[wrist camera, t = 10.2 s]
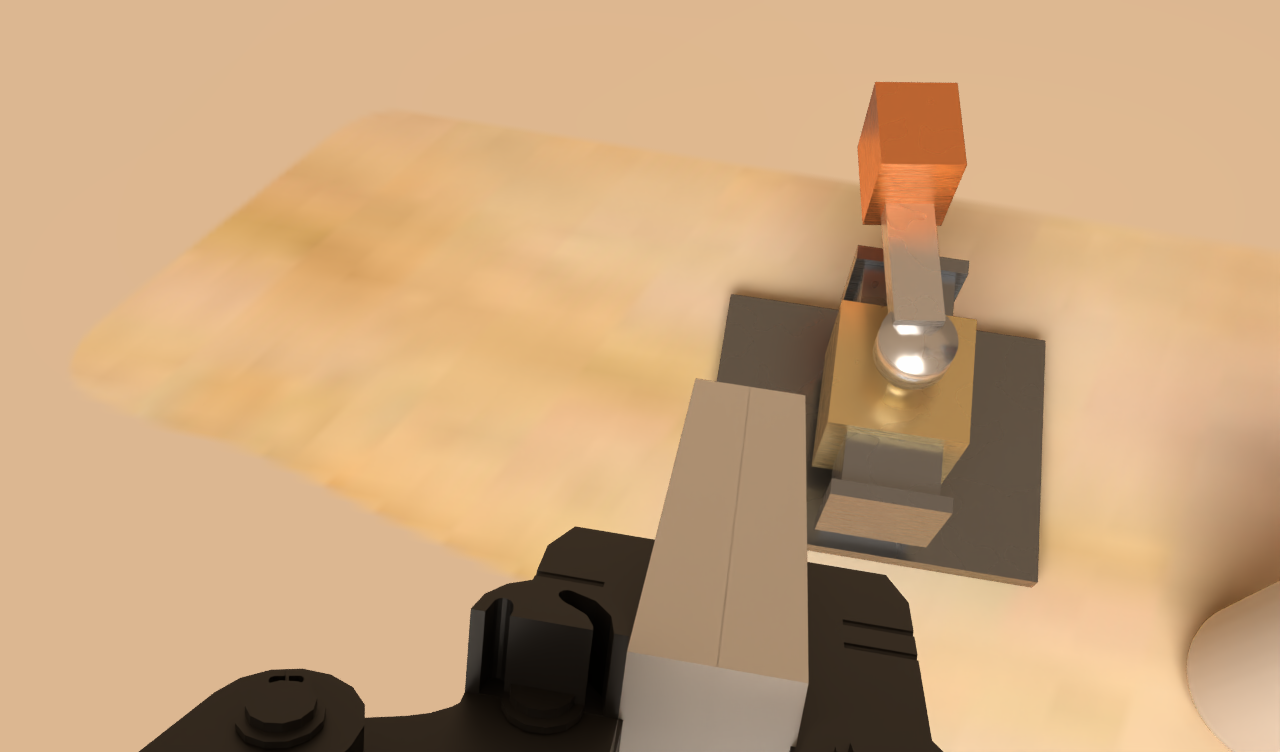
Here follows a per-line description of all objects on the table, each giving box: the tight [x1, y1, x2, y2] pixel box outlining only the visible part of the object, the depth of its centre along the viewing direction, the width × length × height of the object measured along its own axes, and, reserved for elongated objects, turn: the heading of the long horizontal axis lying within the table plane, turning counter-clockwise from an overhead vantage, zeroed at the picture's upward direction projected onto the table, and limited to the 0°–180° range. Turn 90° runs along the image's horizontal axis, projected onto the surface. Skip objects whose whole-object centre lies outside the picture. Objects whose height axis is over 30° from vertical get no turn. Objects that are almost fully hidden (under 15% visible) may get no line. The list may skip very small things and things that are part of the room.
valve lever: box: [858, 82, 967, 390], centre depth 41 cm, size 10×3×4 cm, turn 179°
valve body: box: [717, 245, 1045, 587], centre depth 46 cm, size 14×11×8 cm
